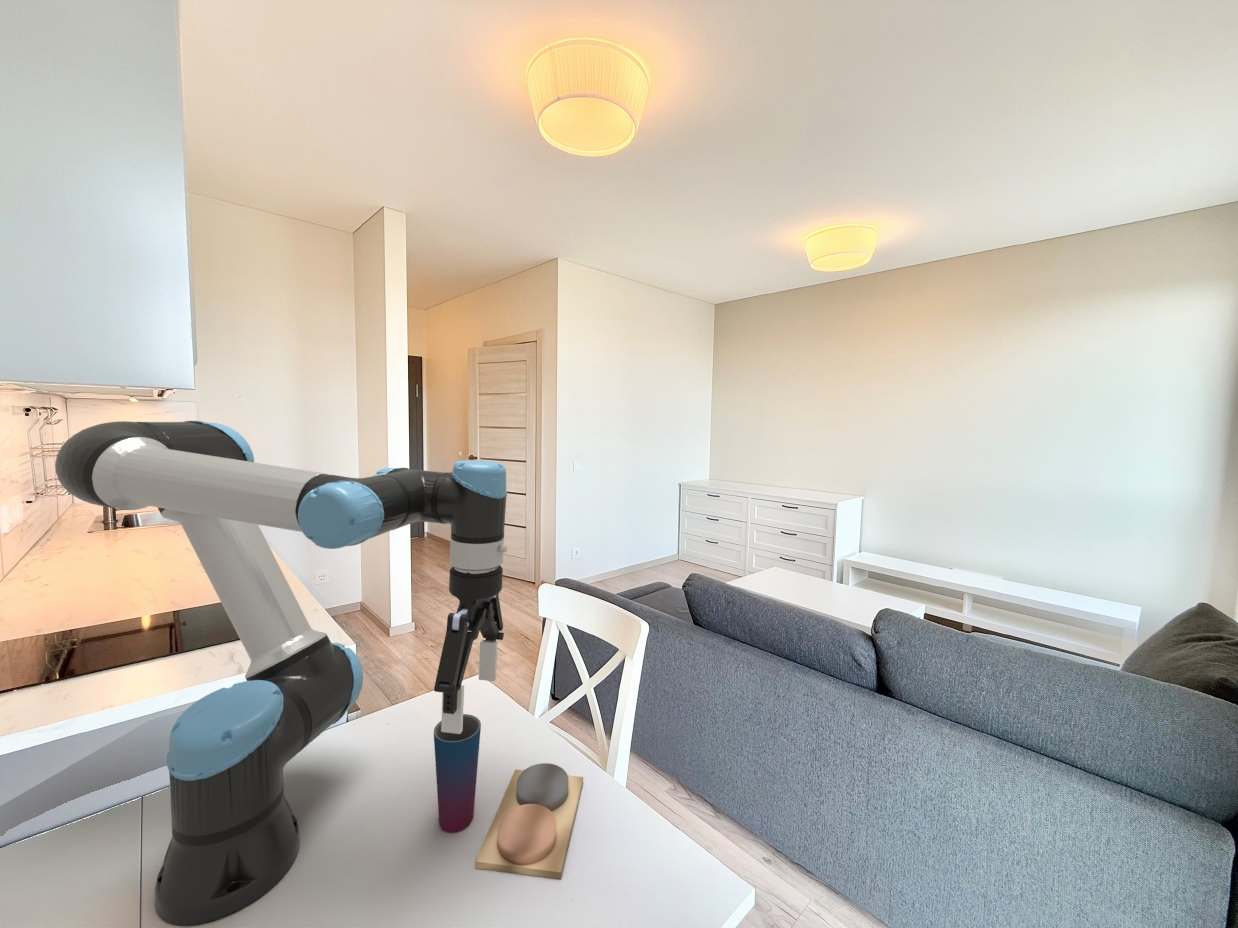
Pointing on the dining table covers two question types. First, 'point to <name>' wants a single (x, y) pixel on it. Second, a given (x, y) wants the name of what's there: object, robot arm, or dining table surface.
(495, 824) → the stand board
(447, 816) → the cup
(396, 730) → the dining table surface
